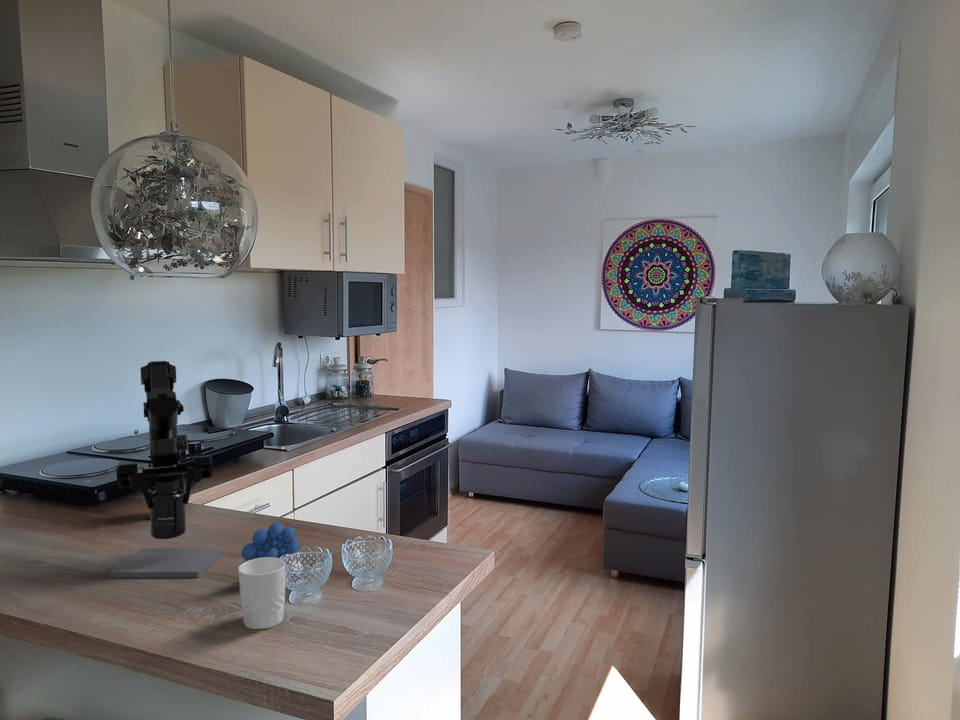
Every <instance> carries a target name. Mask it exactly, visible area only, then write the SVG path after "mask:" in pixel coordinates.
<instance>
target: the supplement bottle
mask: <svg viewBox="0 0 960 720" xmlns="http://www.w3.org/2000/svg"><path fill="white" fill-rule="evenodd" d="M179 487H180V478H178V477H162V478H158V479H156V480H155V490H156V491H155V492H154V493H153V494H152V495H151V497H150V509H149V515H150V519H149V522H150V535H151V537H152V538H154V539H157V540H171V539H174V538H175V539H176V538H178V537H181V536H183V535H184V534H185V533H186V530H187V527H186V526H187V521H186V519H187V517H186V516H187V515H186V511H187V510H186V508H187V507H186V503H185V493H186V492H184V491H182V490H181V489H179Z"/></svg>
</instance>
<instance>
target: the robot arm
mask: <svg viewBox="0 0 960 720" xmlns="http://www.w3.org/2000/svg"><path fill="white" fill-rule="evenodd" d="M176 383H177V367H176V366H175V365H173V364H170V361H167V360H158V361H157V360H155V361H153V360H151V361H150V362H147V364H146V365H144V366H141V367H140V384H141V386H142V385H143V387H144V389H143V390H144V393H145V394H146V395H145V396H146V401H143V403H142V404H143V418H147V422H148V424H149V425H148V433H149V435H148V436H149V449H150V450H149V452H150V453H149V455H150V457H149V458H150V462H149V464H148V466H147V467H143V466H138V462H137V461H136V462H128V463H119V464H118V465H117V466H116V467H115V468H116V470H115V471H116V473H115V474H116V482H117V488H120V489H125V488H129V489H130V490H132V491H133V490H135V491H136V492H137V493H138V495H139V496H140V497H141V498H142V500H143V502H144V504H145V506H146V507H147V510H150V497H151V495H152V494H153V493H154V492H155V491H156V490H155V480H156V479H158V478H162V477H178V478H180V487H179V489H181V490H182V491H183V492H184V491H185V492H184V493H185V505H188V504H189V501H190V499H191V498H190V497H191V495H192V493H193V490H194V488H195V485H196V484H197V483H200V482H201V481H202V480H203V479H204V480H205V479H210V478H211V477H213V470H214V468H213V467H214V463H213V457H212V456H211V455H209V454H208V455H198V456H192V462H190V463H183V464H182V463H181V462H180V461H181V452H184V451H185V452H186V451H187V450H188V438H187V434H179V435H178V416H180V415H182V413H184V412H185V411H184V410H185V409H184V405H183V404H182V402H181V401H180V399H177V393H176V392H175V391H174V389H175V388H174V387H175V384H176ZM184 474H186V479H185V475H184ZM185 480H186V481H185ZM185 482H186V483H185ZM146 519H147V520H150V514H149V515H148V516H147V517H146Z"/></svg>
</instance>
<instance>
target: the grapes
mask: <svg viewBox="0 0 960 720" xmlns="http://www.w3.org/2000/svg"><path fill="white" fill-rule="evenodd" d="M295 536H296V529H295V527H293V526H286V527H285V528H284V525H283V524H282V523H281V522H278V521H277V522H273V523H272V524H271V525H270V526H269V527H268V529H265V528H260V529H258V530H256V531H255V532H254V533H253V535H252V539H251V540H252V543H251V542H250V543H247V544H246V545H244V547H242V550H241V557H242V559H244V561H243V562H242V564H243V563H245V562H247V561H249V560H253V559H257V558H264V557H274V558H280V557H281V556H282V555H285V554H293V555H295V554H297V552H298V551H299V550H300V547H301V546H300V542H299V541H300V540H298V539H297V538H296V539H294V538H295ZM294 553H295V554H294Z"/></svg>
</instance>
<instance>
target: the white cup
mask: <svg viewBox="0 0 960 720" xmlns="http://www.w3.org/2000/svg"><path fill="white" fill-rule="evenodd" d="M242 563H243V562H242ZM285 570H286V563H285V561H284V560H282V559H280V558H274V557H264V558H257V559H253V560H249V561H247V562H245V563H243V564H240V565H239V566H238V569H237V571H238V582H239V594H240V603H241V605H240V606H241V610H242V621H243V622H242V623H243V625H244V626H245V627H246V628H249V629H251V630H264V629H269V628H272V627H275V626H278V625H279V624H280V623H282V622H283V621H284V617H285V616H284V613H285V601H286V600H285V599H286V597H285V596H286V571H287V570H286V571H285Z"/></svg>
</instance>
